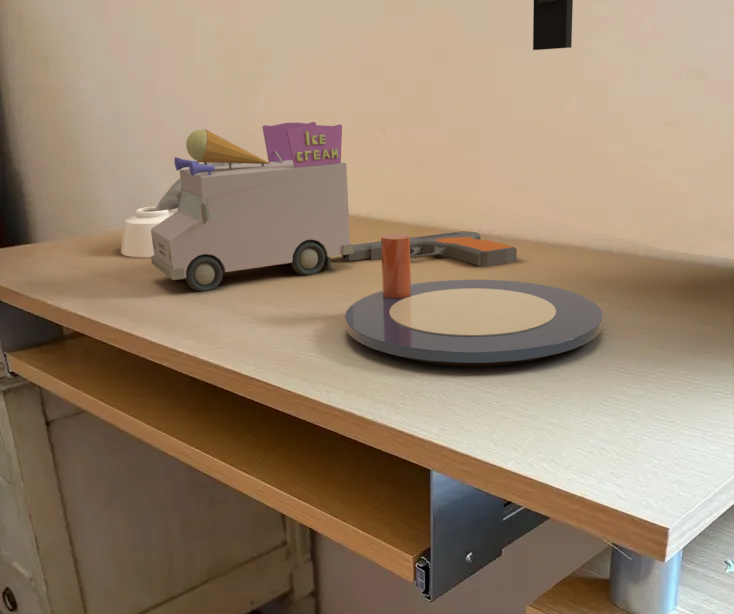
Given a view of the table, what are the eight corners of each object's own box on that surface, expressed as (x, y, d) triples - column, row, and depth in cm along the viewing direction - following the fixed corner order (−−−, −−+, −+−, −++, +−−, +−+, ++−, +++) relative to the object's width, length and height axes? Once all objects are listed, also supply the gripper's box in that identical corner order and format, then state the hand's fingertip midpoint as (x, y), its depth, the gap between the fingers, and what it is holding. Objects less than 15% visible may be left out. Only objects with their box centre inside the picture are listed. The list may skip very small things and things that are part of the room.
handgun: (384, 282, 82) (341, 260, 93) (521, 263, 88) (466, 244, 98) (384, 265, 82) (340, 244, 92) (521, 246, 87) (466, 229, 97)
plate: (499, 384, 53) (502, 295, 50) (293, 327, 66) (287, 255, 63) (650, 313, 66) (657, 240, 63) (452, 277, 79) (452, 215, 76)
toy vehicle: (152, 281, 87) (131, 131, 81) (322, 256, 95) (314, 118, 89) (176, 300, 79) (154, 136, 73) (358, 272, 87) (352, 122, 81)
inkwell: (108, 251, 102) (95, 168, 98) (235, 230, 112) (228, 153, 108) (140, 263, 95) (128, 173, 91) (272, 239, 105) (266, 157, 102)
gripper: (539, -276, 65) (534, 50, 74) (473, -335, 55) (477, 53, 63) (636, -302, 61) (619, 44, 70) (586, -370, 51) (573, 46, 60)
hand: (552, 48), depth 67 cm, fingers closed
